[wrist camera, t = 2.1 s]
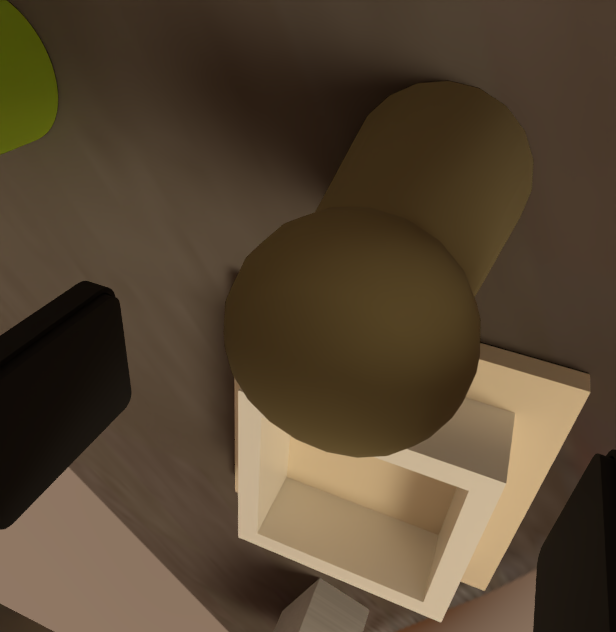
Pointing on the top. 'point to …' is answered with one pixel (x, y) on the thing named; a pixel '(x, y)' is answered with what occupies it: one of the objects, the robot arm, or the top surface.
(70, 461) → the robot arm
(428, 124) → the cork
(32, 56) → the soap dispenser
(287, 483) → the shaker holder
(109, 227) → the top surface
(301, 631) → the white carton
